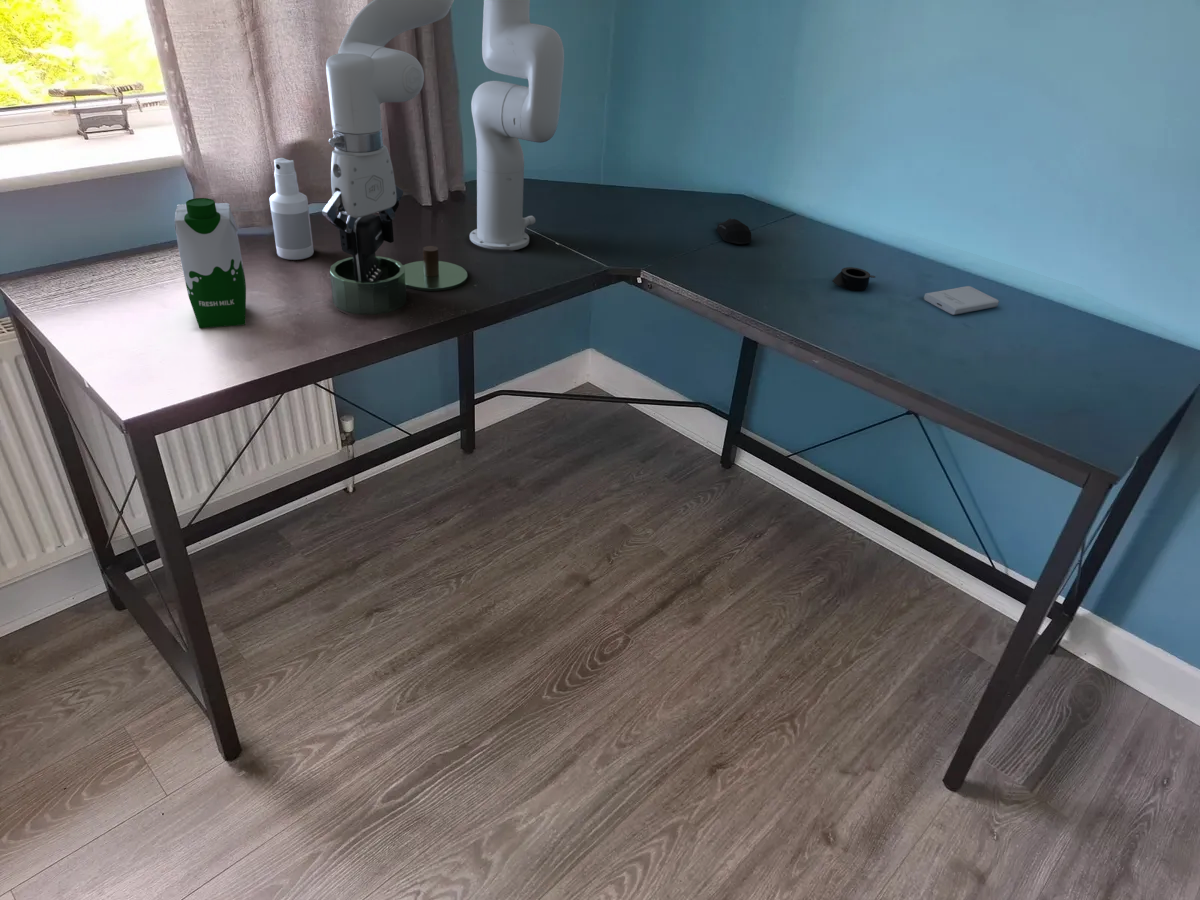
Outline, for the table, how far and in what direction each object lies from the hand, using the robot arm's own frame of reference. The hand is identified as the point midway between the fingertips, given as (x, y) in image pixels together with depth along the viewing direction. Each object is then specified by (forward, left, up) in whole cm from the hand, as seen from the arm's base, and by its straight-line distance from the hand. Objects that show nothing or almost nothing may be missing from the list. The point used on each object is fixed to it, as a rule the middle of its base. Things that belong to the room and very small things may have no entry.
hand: (368, 245), depth 143 cm
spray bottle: (-4, -27, -10) cm, 29 cm away
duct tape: (-74, +61, -10) cm, 97 cm away
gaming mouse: (-82, +28, -10) cm, 88 cm away
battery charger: (0, 0, -7) cm, 7 cm away
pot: (+1, 0, -10) cm, 10 cm away
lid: (-14, 0, -10) cm, 17 cm away
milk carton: (+22, -12, -10) cm, 27 cm away
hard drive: (-82, +81, -10) cm, 116 cm away
